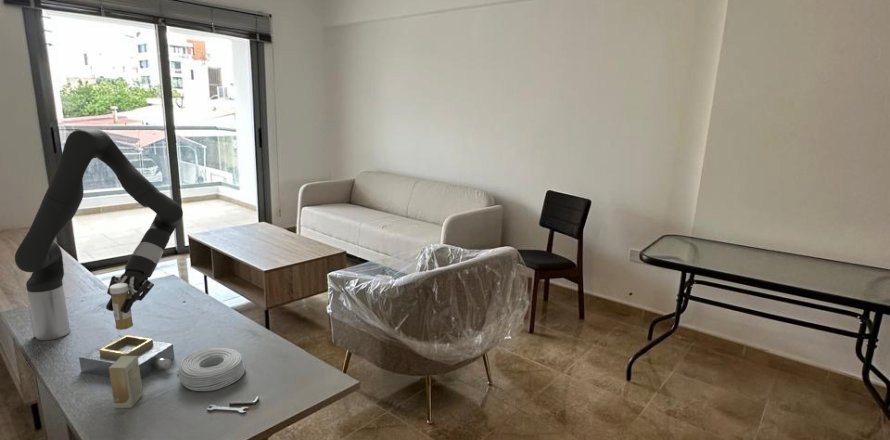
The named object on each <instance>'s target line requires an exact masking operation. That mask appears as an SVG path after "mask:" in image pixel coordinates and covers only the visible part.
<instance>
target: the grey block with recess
mask: <svg viewBox="0 0 890 440" xmlns="http://www.w3.org/2000/svg"><path fill="white" fill-rule="evenodd" d="M121 356H138V363H139V370H140V377H141V381H142V380H144V379H146V378H148V377H149V376H150V375H151V374H153V373H154V372H156V371H158V370H159V369H160V370H169V368H170V367H171V366H172V361H173V360H174V359H175V351H174V344H173V343H168V342H163V341H155V340H154V339H153V338H147V337H141V336H135V335H127V334H125V335H118V336H116V337H115V338H113V339H110V340H108V341H107V342H105V343H103V344H101V345H99V346H97V347H95V348H94V349H91V350H90V351H87V352H85V353H84V354H82V355H79V357H78V360H79V366H80V373H85V374H90V375H95V376H100V377H106V378H110V373H109V367H110V366H111V365H112V364H113V363H114V362H115V361H116V360H118V359H119V358H120V357H121Z"/></svg>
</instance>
